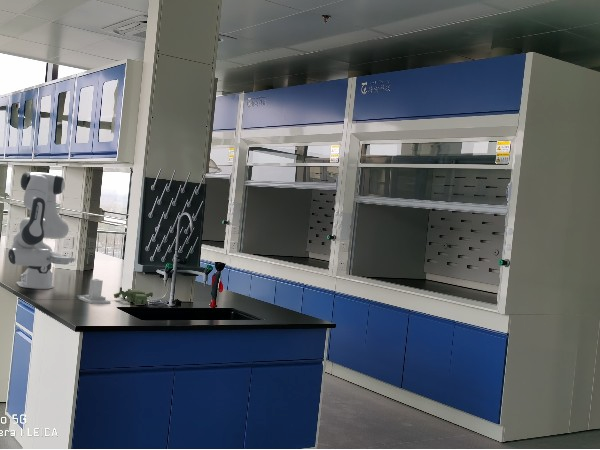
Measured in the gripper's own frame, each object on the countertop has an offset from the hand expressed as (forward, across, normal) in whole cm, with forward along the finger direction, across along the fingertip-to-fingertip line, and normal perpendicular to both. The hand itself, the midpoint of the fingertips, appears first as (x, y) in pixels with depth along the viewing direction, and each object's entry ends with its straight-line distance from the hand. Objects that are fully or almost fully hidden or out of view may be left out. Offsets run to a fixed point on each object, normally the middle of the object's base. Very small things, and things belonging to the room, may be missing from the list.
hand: (69, 258), depth 348 cm
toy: (+37, -4, +23) cm, 44 cm away
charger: (+15, -2, +21) cm, 26 cm away
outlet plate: (+15, -2, +22) cm, 27 cm away
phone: (+16, +6, +22) cm, 28 cm away
